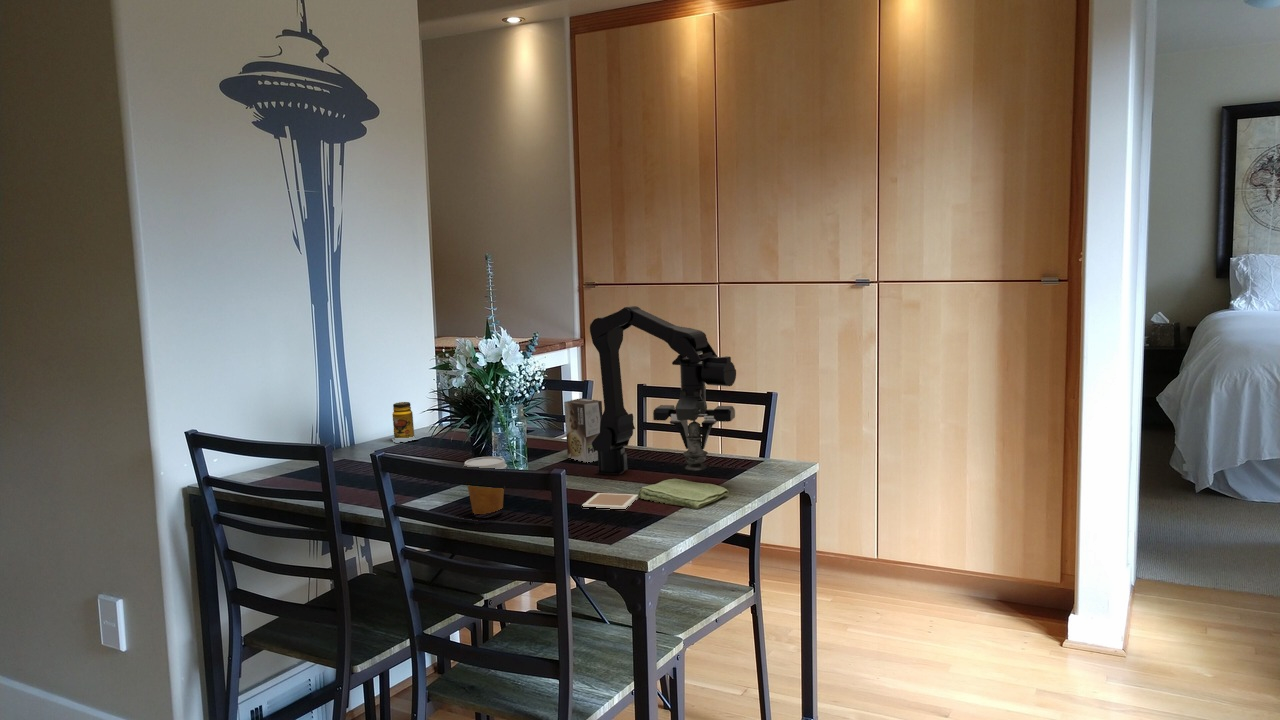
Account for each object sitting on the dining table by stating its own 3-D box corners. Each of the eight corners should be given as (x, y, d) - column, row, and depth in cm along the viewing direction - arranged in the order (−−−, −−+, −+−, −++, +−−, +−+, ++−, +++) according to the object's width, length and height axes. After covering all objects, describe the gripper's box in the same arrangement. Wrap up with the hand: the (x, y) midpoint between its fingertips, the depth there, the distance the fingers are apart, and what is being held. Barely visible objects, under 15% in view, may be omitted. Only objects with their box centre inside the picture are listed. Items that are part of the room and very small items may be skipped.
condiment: (395, 444, 278) (392, 405, 277) (390, 439, 286) (387, 402, 285) (419, 441, 282) (416, 403, 280) (413, 436, 289) (410, 399, 288)
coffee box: (605, 459, 246) (603, 400, 245) (587, 463, 242) (584, 404, 240) (584, 454, 253) (581, 397, 251) (566, 458, 249) (563, 400, 247)
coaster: (582, 508, 200) (582, 504, 200) (597, 495, 210) (597, 492, 210) (625, 510, 197) (625, 506, 197) (638, 497, 207) (638, 494, 207)
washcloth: (699, 512, 195) (698, 498, 194) (635, 501, 206) (634, 487, 205) (732, 498, 205) (731, 484, 205) (669, 487, 216) (669, 474, 216)
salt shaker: (706, 470, 213) (704, 420, 212) (681, 470, 214) (679, 420, 213) (709, 464, 219) (708, 415, 217) (685, 464, 220) (683, 415, 219)
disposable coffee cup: (513, 507, 203) (510, 455, 202) (505, 520, 194) (502, 465, 192) (471, 509, 203) (467, 456, 202) (461, 522, 194) (457, 467, 192)
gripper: (645, 389, 209) (647, 455, 211) (724, 389, 204) (726, 457, 206) (658, 381, 220) (661, 445, 222) (734, 382, 214) (736, 447, 216)
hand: (695, 448), depth 216 cm, fingers closed on salt shaker, 3 cm apart
